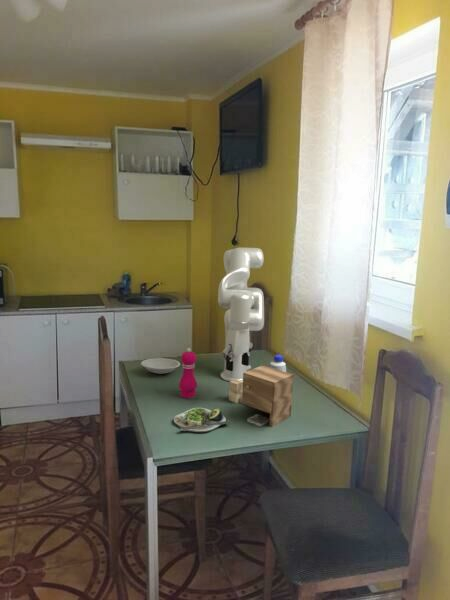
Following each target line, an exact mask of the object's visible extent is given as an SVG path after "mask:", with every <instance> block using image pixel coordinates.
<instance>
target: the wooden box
mask: <svg viewBox="0 0 450 600" xmlns="http://www.w3.org/2000/svg"><path fill="white" fill-rule="evenodd" d="M294 376H295V375H294V374H293V373H289V372H287V371H286V372H284V371H280V370H277V369H273V368H270V366H266V365H263V364H262V365H260V366H258V367H255V368H251V369H249V370H247V371H246V372H244V373H243V392H242V403H241V404H243V405H246V406H247V405H248V407H250V408H253V409H256V410H258V409H259V411H261V412H264V413H267V414H269V413H270V414H269V419H270V422H269V427H274V426H276V425H278V424H279V423H281V422H282V421H285V420H287V419H289V418H291V415H292V403H293V401H292V400H293V387H294Z"/></svg>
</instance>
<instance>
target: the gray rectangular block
mask: <svg viewBox="0 0 450 600" xmlns="http://www.w3.org/2000/svg"><path fill="white" fill-rule="evenodd" d="M246 419H247V420H246V422H247V423H250V424H253V425H255V426H258V427H262V426H264V425H267V424H268V423H270V417H266V416H264V415H261V414H258V413H255V414H254V415H252V416H250V417H248V418H246Z"/></svg>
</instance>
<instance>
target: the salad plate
mask: <svg viewBox="0 0 450 600" xmlns="http://www.w3.org/2000/svg"><path fill="white" fill-rule="evenodd" d="M186 418H187V419H186ZM184 419H186V420H187V424H186V423H183V421H184ZM230 422H231V421H230V420H227V418H226V417H225V416H224V415H223V413H222V410H221V409H220V408H217V407H216V408H214V409H212V410H211V409H208V408H206V407H193V408H191V409H187V410H186V411H183V412H182V413H179V414H177V415H175V416H174V418H173V423H174V424H175V425H176V426H178V428H179V430H180V431H184V432H185V431H186V432H192V433H193V432H194V433H207V432H211V431H213V430H216V429H217V428H220V427H222V426H224V425H226V424H227V425H228V424H229V423H230Z"/></svg>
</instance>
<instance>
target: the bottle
mask: <svg viewBox="0 0 450 600" xmlns="http://www.w3.org/2000/svg"><path fill="white" fill-rule="evenodd" d="M283 360H284V356H283V355H281V354H276V355H275V356H274V357H273V361H270V364H269V367H270V368H273V369H277V370H280V371H284V372H287V366H286V365H287V364H286V362H285V361H283Z"/></svg>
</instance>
